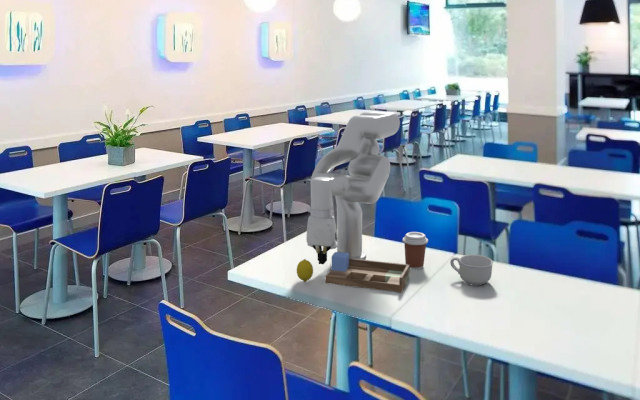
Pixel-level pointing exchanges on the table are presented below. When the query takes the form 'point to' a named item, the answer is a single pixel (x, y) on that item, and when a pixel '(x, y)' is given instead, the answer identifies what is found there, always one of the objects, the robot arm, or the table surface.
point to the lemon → (304, 270)
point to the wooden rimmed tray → (371, 275)
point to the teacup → (473, 268)
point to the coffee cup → (415, 249)
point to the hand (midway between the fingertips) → (322, 262)
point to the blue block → (340, 261)
